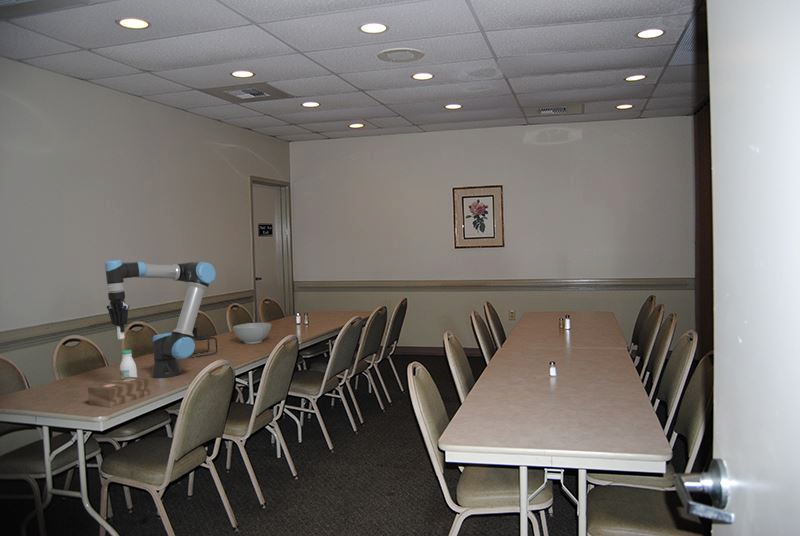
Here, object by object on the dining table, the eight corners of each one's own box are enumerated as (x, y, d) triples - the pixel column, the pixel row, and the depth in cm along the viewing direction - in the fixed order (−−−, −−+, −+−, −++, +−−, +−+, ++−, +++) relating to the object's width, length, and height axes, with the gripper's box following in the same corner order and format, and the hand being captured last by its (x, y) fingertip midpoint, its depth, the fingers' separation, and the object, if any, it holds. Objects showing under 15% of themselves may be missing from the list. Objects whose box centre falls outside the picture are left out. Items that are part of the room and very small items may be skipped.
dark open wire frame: (183, 356, 382) (181, 322, 381) (209, 351, 393) (207, 318, 392) (192, 358, 372) (190, 323, 371) (218, 354, 384) (216, 320, 383)
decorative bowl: (277, 342, 419) (276, 325, 418) (239, 347, 406) (238, 329, 405) (265, 337, 442) (264, 321, 441) (229, 342, 429) (228, 325, 428)
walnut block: (129, 392, 292) (128, 376, 291) (149, 394, 286) (148, 378, 285) (89, 404, 272) (88, 387, 271) (110, 407, 266) (109, 389, 266)
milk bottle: (134, 387, 303) (130, 348, 301) (141, 389, 297) (137, 349, 296) (118, 390, 297) (115, 351, 296) (125, 392, 292) (122, 352, 290)
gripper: (100, 292, 291) (105, 340, 293) (119, 292, 286) (124, 340, 288) (112, 290, 298) (117, 336, 300) (132, 290, 293) (137, 337, 295)
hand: (121, 338), depth 294 cm, fingers closed
